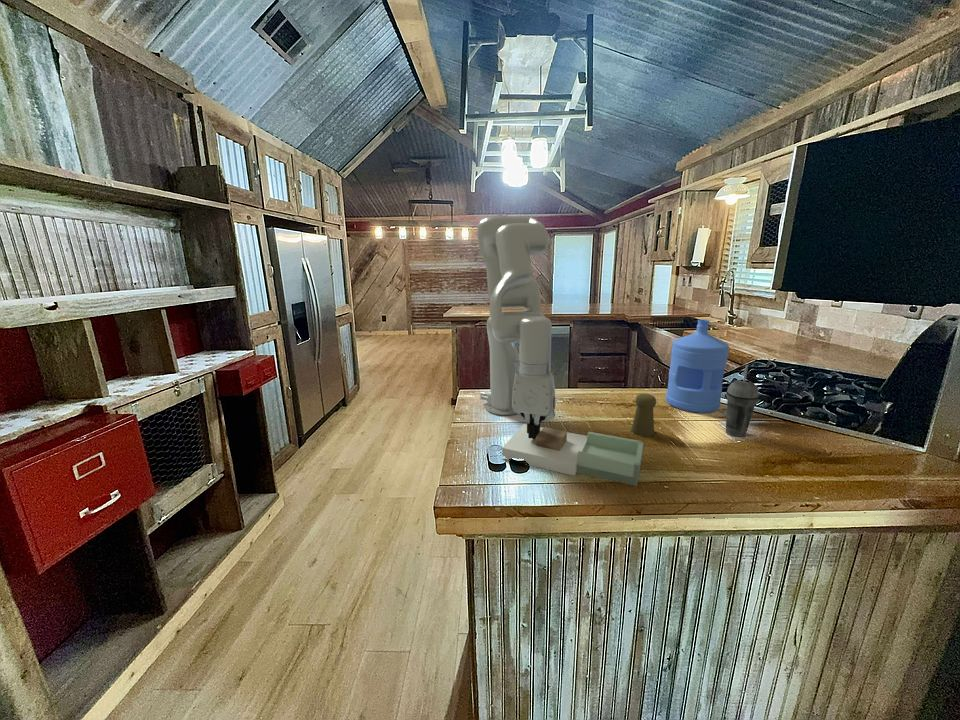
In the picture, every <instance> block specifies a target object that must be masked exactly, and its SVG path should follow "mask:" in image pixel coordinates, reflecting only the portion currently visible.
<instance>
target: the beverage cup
mask: <svg viewBox="0 0 960 720" xmlns="http://www.w3.org/2000/svg"><path fill="white" fill-rule="evenodd" d="M748 369H749V364H745V368H744V375H743V379H741V378H740V379H738V380H737V379H736V380H735V381H733V382H731V383H730V384H729V385H728V387H727V390H726V401H727V402H726V416H725V417H726V419H725V433H726V434H727V436H730V437H732V438H740V439H741V438H745V437H746V434H747V432H748V430H749V426H750V423H751V420H752V415H753V413H754V409H755V406H756V405H757V403H758V399H760V396H759V395H760V393H759V389H758V386H757V385H756V384H755V383H753V382H752V381H751V380H748V379H747V375H748Z"/></svg>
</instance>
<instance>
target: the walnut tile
mask: <svg viewBox="0 0 960 720" xmlns="http://www.w3.org/2000/svg"><path fill="white" fill-rule="evenodd" d="M567 432H568V431H565V430H561V429H557V428H551V427H546V426H543V429H542V430H541V431H540V433H539V434H538V435H537V436H536V446H540V447H544V448H548V449H553V450H557V451H560V450H561V448H562V447H563V445H564V444H565V442H566V441H567Z"/></svg>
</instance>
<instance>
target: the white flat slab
mask: <svg viewBox="0 0 960 720" xmlns="http://www.w3.org/2000/svg"><path fill="white" fill-rule="evenodd" d="M543 428H544V426H542V427H541V426H540V431H541V430H542V429H543ZM566 432H567V441H566V442H565V444H564V445H563V447H562V448H561V450H560V451H557V450H553V449H548V448H544V447H540V446H536V438H535V439H532V438H528V433H527V423H523V424H522V425H521V426H520V427H519V429H517V430H516V432H514V434H513V435H512V436H511V437H510V438H509V440H508V441H507V442H506V443H505V444H504V445H503V446H502V448H501V449H502V450H501V451H502V452H501V455H503V456H505V457H506V458H507V459H511V458H517V459H519V458H520V459H521V458H522V459H524V460H525V461H526V462H527V463H528V464H529V465H528V466H532V467H535V468H540V469H545V470H549V471H553V472H558V473H561V474H566V475H570V476H576V475H577V456H578V451H580V452H583V451H584V449H585V447H586V445H587V435H585V434H580V433H579V434H578V433H574V432H568V431H566Z"/></svg>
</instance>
